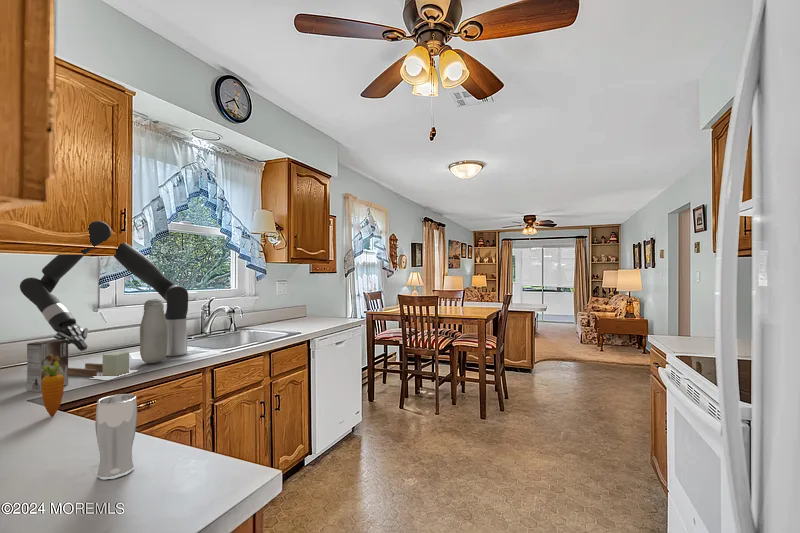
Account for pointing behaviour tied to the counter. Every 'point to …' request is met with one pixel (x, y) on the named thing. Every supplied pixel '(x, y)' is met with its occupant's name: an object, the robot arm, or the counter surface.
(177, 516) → the counter surface
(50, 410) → the carrot
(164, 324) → the grey bottle
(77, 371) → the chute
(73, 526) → the counter surface
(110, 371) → the block
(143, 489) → the counter surface
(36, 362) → the coffee box
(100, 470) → the beer glass
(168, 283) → the robot arm
